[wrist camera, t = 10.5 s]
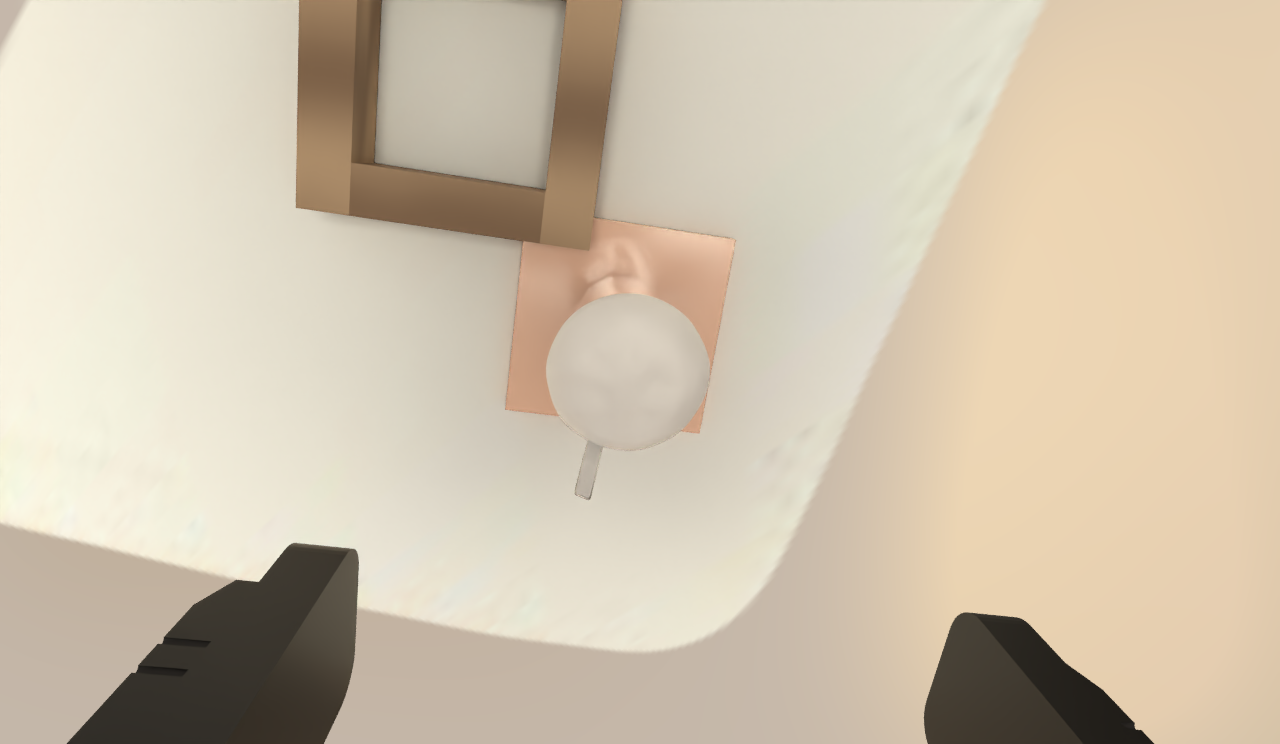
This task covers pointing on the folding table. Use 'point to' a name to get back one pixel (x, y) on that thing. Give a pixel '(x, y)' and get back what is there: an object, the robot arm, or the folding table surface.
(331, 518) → the folding table surface
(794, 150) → the folding table surface
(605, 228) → the coaster
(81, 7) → the folding table surface
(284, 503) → the folding table surface
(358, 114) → the square brown frame
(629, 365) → the milkshake
